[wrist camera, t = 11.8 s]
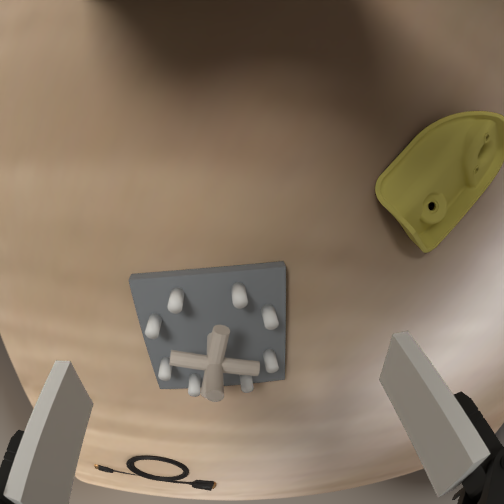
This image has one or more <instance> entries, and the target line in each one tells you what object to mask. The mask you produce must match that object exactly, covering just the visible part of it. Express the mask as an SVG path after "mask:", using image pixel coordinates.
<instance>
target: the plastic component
mask: <svg viewBox="0 0 504 504" xmlns="http://www.w3.org/2000/svg"><path fill="white" fill-rule="evenodd" d="M503 162H504V116H502V115H500V114H497V113H493V112H486V111H469V112H462V113H457V114H453V115H450V116H447V117H444V118H442V119H439V120H438V121H436V122H434V123H432V124H431V125H429V126H428V127H426V128H425V129H424V130H422V131H421V132H420V133H419V134H418V135H417V136H416V137H415V138H414V139H413V140H412V141H411V142H410V143H409V145H408V146H407V147H406V148H405V149H404V150H403V151H402V152H401V153H400V154H399V156H398V157H397V158H396V159H395V160H394V161H393V162H392V163H391V164H390V165H389V166H388V168H387V169H386V170H385V171H384V172H383V173H382V174H381V175H380V176H379V178H378V180H377V182H376V186H375V192H376V196H377V198H378V200H379V202H380V203H381V204H382V205H383V206H384V207H385V208H386V209H387V210H388V211H389V212H390V213H391V214H392V215H393V216H394V217H395V218H396V220H397V221H398V222H399V223H400V225H401V226H402V228H403V229H404V230H405V232H406V233H407V235H408V236H409V238H410V239H411V240H412V241H413V242H414V243H415V244H416V245H417V246H418V247H419V248H420V249H421V250H422V251H423V252H424V253H427V252H430V251H432V250H433V249H434V248H436V247H437V246H438V245H439V244H440V242H441V241H442V240H443V239H444V238H445V237H446V236H447V235H448V234H449V233H450V231H451V230H452V229H453V228H454V227H455V226H456V225H457V223H458V222H459V221H460V220H461V219H462V218H463V217H464V215H465V214H466V213H467V212H468V211H469V209H470V208H471V207H472V206H473V205H474V203H475V202H476V201H477V200H478V199H479V197H480V196H481V195H482V194H483V192H484V191H485V190H486V188H487V187H488V186H489V185H490V183H491V182H492V181H493V179H494V178H495V176H496V175H497V173H498V172H499V170H500V168H501V166H502V164H503ZM430 202H433V203H434V205H435V207H434V209H433V210H429V208H428V204H429V203H430Z"/></svg>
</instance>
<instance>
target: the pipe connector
mask: <svg viewBox="0 0 504 504" xmlns="http://www.w3.org/2000/svg"><path fill="white" fill-rule="evenodd" d="M229 334H230V329H229V328H228V327H226V326H224V325H215V326H214V327H213V330H212V332H211V333H209V334H208V336H207V355H202V354H195V353H189V352H182V351H176V350H171V354H170V363H169V365H171V366H177V367H184V368H191V369H198V370H205V372H204V377H203V383H202V388H201V395H202V396H203V397H204V398H207V399H208V400H210V401H213V402H218V401H221V400H222V399H223V398H224V383H223V373H230V374H239V375H250V376H258V375H259V371H260V362H259V361H252V360H242V359H233V358H225V357H224V356H225V351H226V347H227V343H228V338H229Z"/></svg>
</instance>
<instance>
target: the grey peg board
mask: <svg viewBox="0 0 504 504" xmlns="http://www.w3.org/2000/svg"><path fill="white" fill-rule="evenodd" d="M129 284H130V288H131V292H132V296H133V300H134V304H135V308H136V312H137V315H138V319H139V323H140V326H141V330H142V333H143V337H144V340H145V344H146V347H147V350H148V353H149V357H150V360H151V363H152V366H153V369H154V372H155V375H156V378H157V381H158V384H159V387H160V389H180V388H188V394H189V395H190V396H193V397H196V396H199V395H200V388H201V387H202V383H203V377H204V372H205V370H198V369H191V368H184V367H177V366H171V365H169V363H170V354H171V350H176V351H182V352H189V353H195V354H202V355H207V336H208V334H209V333H211V332H212V330H213V327H214V326H215V325H224V326H226V327H228V328H229V329H230V334H229V338H228V343H227V347H226V351H225V356H224V357H225V358H233V359H242V360H252V361H259V362H260V371H259V375H258V376H250V375H239V374H230V373H223V383H224V386H229V385H241V390H242V391H243V392H245V393H249V392H251V391H253V389H254V388H253V383H260V382H268V381H276V380H284V379H285V336H286V266H285V264H284V262H283V261H280V262H269V263H258V264H247V265H235V266H224V267H212V268H200V269H188V270H176V271H163V272H151V273H138V274H131V276H130V278H129Z"/></svg>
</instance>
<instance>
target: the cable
mask: <svg viewBox="0 0 504 504" xmlns="http://www.w3.org/2000/svg"><path fill="white" fill-rule="evenodd" d="M138 460H158V461H163V462H167V463H171V464H174V465H176V466H178V467H180V468H181V469H182V470H183V473H182V474H181V475H179V476H174V477H160V476H154V475H150V474H147V473H145V472H142V471H140V470H139V469H137V468H136V467H135V466H134V462H135V461H138ZM128 464H129V465H128ZM126 465H127V467H128V468H129V469H130V470H131V471H132V472H133V473H135V474H137V475H138V476H142V477H144V478H148V479H151V480H157V481H165V482H173V483H183V484H189V485H192V487H193V488H198V489H205V490H210V491H211V489H214V488H215V486H216V483H215V482H214V481H203V480H195V481H193V482H178V481H174V480H180V479H183V478H185V477H187V475H188V473H189V469H188V468H187V467H186V466H185V465H183V464H182V463H180V462H177V461H174V460H171V459H167V458H162V457H155V456H136V457H132V458H130V459H129V460H128V461H127V463H126ZM94 466H95V468H96V469H99V470H101V471H105V472H110V473H113V471H114V472H119V473H125V472H120V471H115V470H113V469H110V468H108V467H104V466H100V465H96V464H95V465H94ZM125 474H130V473H125ZM135 474H131V475H135Z"/></svg>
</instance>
